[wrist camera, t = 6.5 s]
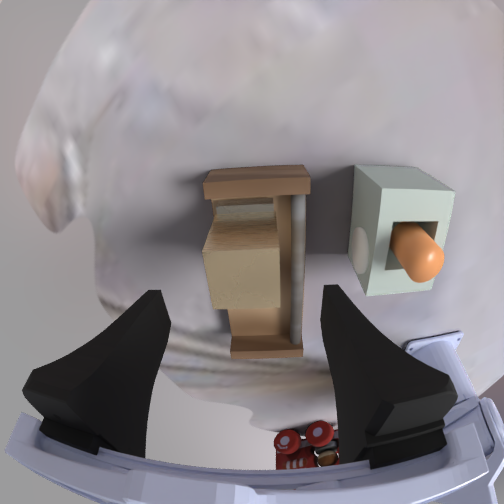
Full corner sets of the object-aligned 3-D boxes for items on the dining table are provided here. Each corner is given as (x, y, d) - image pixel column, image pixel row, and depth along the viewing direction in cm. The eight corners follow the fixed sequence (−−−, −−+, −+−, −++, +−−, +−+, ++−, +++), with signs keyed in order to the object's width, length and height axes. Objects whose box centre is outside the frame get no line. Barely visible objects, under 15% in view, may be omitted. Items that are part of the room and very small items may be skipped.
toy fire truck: (354, 426, 37) (362, 483, 28) (284, 445, 41) (285, 498, 32) (341, 412, 34) (350, 477, 25) (264, 433, 38) (263, 492, 29)
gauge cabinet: (404, 252, 21) (431, 289, 17) (344, 255, 21) (362, 296, 17) (417, 167, 17) (455, 191, 13) (351, 164, 18) (377, 188, 14)
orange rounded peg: (417, 253, 16) (438, 280, 14) (385, 255, 17) (403, 284, 14) (424, 220, 15) (448, 244, 13) (391, 220, 15) (412, 245, 13)
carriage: (276, 260, 20) (280, 314, 15) (225, 262, 20) (214, 316, 16) (274, 197, 18) (279, 238, 13) (216, 200, 18) (200, 242, 13)
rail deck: (299, 331, 26) (302, 356, 23) (234, 333, 26) (231, 358, 23) (303, 164, 18) (310, 177, 15) (211, 169, 18) (202, 183, 16)
